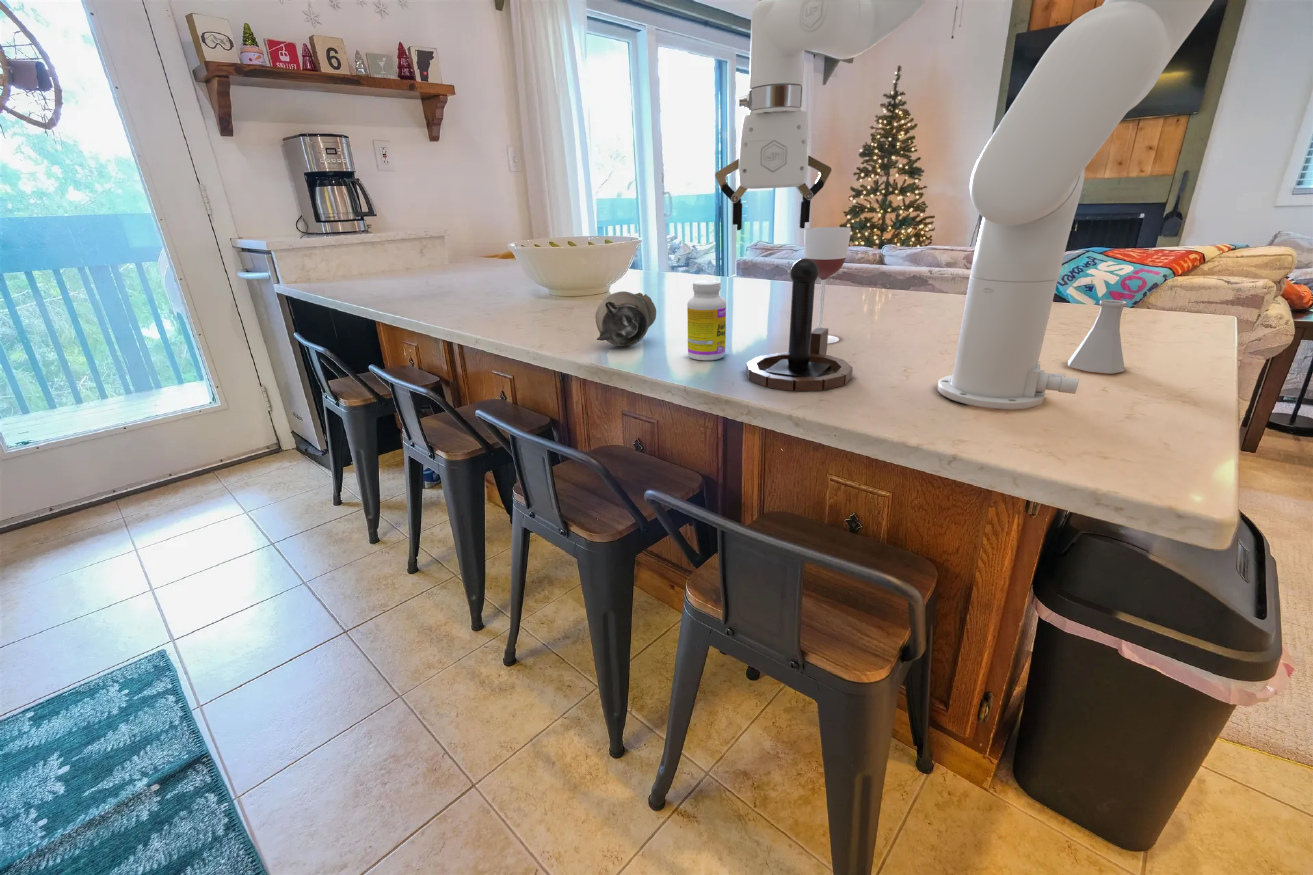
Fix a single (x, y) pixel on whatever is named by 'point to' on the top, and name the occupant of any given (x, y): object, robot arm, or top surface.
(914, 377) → the top surface
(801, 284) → the towel holder
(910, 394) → the top surface
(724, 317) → the supplement bottle
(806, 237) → the wineglass
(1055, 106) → the robot arm
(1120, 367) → the flask
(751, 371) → the walnut ring
